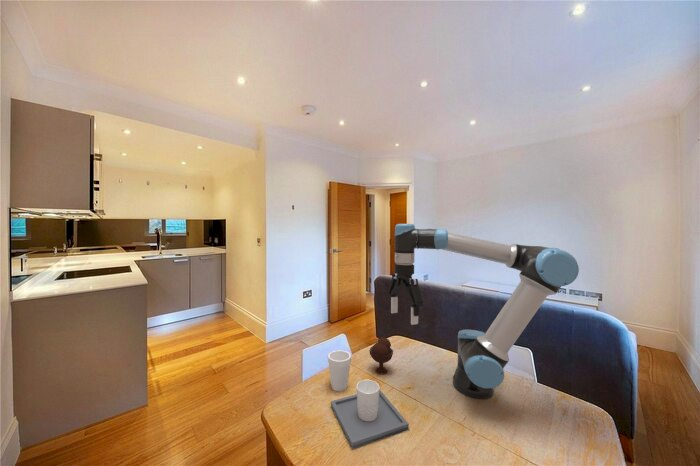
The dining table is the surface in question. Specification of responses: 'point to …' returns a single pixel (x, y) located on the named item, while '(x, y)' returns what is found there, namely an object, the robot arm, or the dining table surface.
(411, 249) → the robot arm
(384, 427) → the tray
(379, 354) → the ice cream bowl
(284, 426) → the dining table surface
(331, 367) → the foam cup
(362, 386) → the white cup
